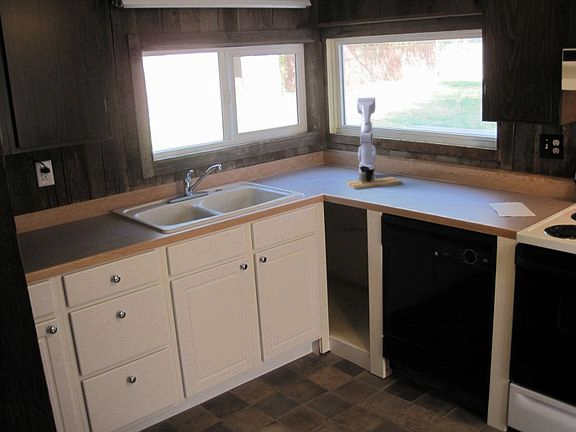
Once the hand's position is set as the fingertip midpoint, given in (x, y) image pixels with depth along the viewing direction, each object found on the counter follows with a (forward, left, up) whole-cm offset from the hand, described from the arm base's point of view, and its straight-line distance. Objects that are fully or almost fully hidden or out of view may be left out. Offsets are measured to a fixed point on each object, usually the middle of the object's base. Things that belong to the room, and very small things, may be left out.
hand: (367, 180), depth 332 cm
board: (0, +4, -2) cm, 5 cm away
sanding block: (0, 0, -1) cm, 1 cm away
